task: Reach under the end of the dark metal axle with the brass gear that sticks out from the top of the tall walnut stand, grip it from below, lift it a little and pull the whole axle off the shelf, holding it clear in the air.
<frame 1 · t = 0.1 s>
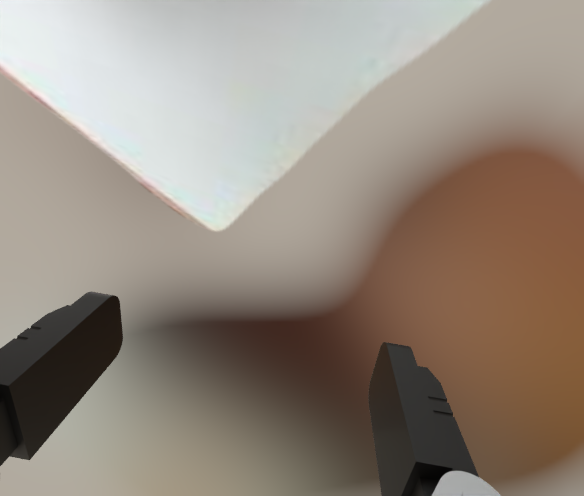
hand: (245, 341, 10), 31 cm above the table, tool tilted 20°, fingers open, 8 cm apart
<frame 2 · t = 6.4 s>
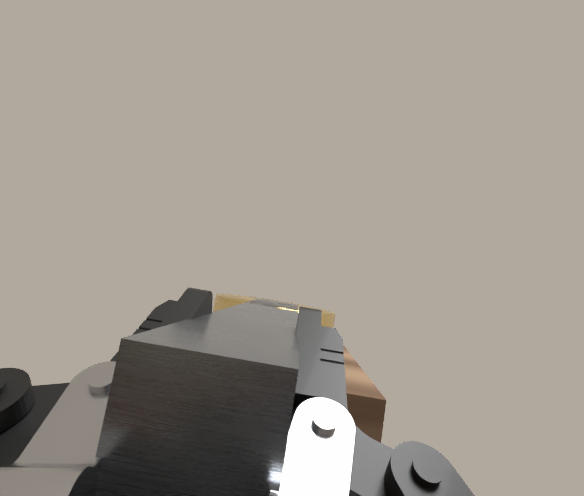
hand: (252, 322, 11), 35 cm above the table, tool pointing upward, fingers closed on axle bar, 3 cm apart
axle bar: (254, 377, 15), point 32 cm above the table, touching gripper, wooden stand
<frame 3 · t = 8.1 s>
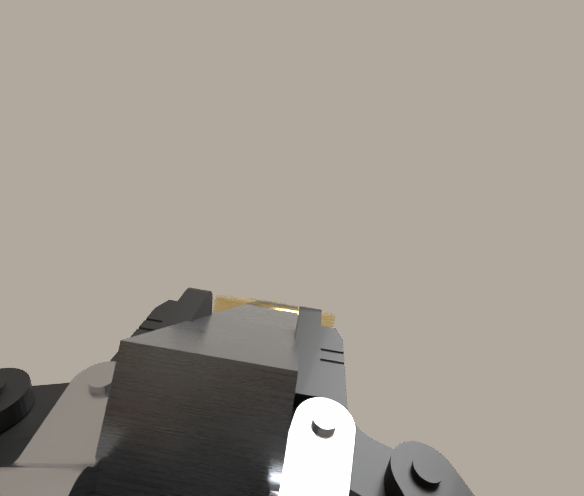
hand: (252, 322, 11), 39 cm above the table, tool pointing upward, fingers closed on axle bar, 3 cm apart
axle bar: (254, 379, 15), point 36 cm above the table, touching gripper
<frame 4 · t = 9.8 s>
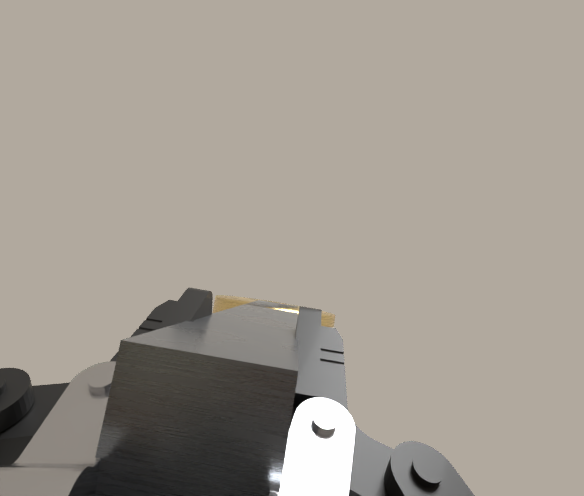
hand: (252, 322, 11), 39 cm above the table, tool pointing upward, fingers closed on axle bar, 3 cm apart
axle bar: (254, 379, 15), point 36 cm above the table, touching gripper
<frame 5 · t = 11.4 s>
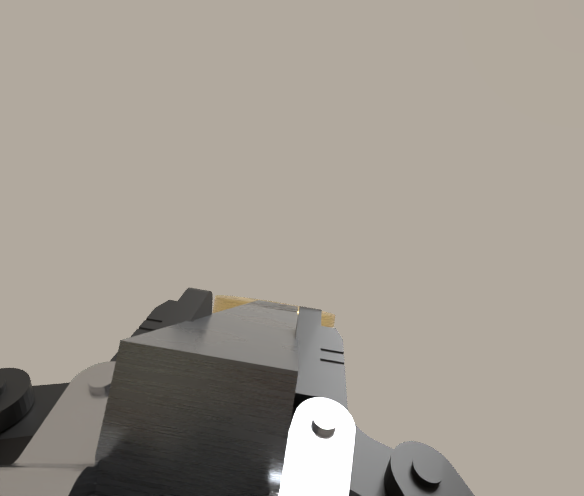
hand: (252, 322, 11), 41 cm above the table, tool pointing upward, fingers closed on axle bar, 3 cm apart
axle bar: (254, 379, 15), point 38 cm above the table, touching gripper
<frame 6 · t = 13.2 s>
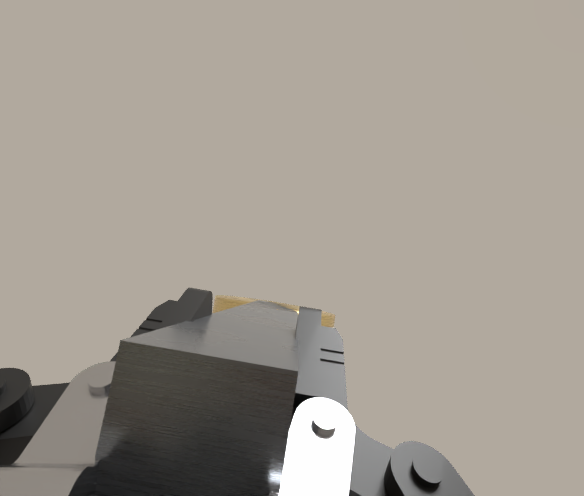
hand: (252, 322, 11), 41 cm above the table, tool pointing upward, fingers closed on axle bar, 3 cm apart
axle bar: (254, 379, 15), point 38 cm above the table, touching gripper
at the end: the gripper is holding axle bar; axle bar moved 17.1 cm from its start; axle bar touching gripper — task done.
